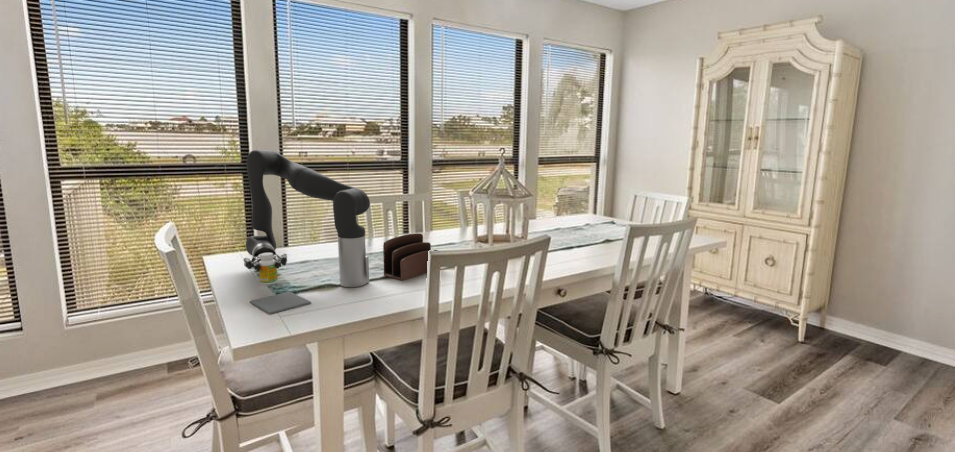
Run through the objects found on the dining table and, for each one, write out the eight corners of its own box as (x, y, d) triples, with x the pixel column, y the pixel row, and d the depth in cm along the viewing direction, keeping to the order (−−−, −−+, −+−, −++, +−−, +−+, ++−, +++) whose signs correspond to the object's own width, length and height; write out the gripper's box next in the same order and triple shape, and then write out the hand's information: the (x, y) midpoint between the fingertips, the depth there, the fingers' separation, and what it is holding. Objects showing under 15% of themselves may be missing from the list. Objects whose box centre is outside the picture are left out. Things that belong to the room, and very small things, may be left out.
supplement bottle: (271, 285, 163) (268, 256, 161) (256, 284, 164) (253, 255, 162) (281, 280, 168) (278, 252, 166) (266, 279, 169) (264, 251, 167)
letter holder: (383, 276, 187) (382, 239, 184) (421, 265, 202) (421, 230, 199) (401, 281, 180) (400, 243, 178) (439, 269, 195) (439, 234, 193)
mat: (289, 293, 166) (289, 291, 166) (310, 303, 157) (310, 301, 156) (249, 302, 157) (249, 300, 157) (270, 314, 147) (269, 312, 147)
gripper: (240, 246, 173) (242, 258, 158) (285, 242, 180) (290, 253, 165) (242, 267, 175) (244, 280, 160) (286, 262, 181) (292, 275, 166)
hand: (268, 266), depth 162 cm, fingers closed on supplement bottle, 5 cm apart
